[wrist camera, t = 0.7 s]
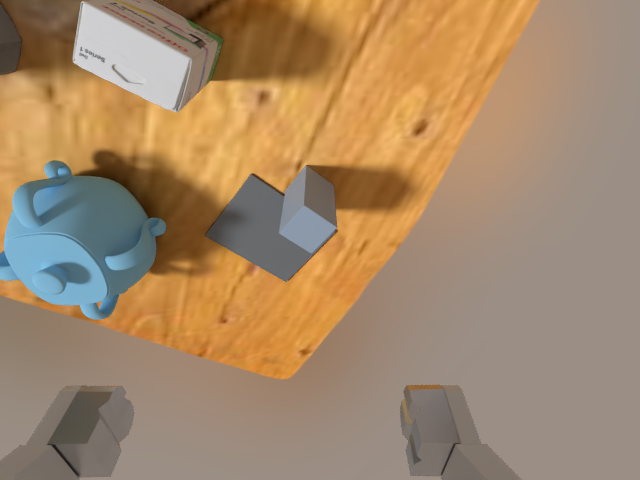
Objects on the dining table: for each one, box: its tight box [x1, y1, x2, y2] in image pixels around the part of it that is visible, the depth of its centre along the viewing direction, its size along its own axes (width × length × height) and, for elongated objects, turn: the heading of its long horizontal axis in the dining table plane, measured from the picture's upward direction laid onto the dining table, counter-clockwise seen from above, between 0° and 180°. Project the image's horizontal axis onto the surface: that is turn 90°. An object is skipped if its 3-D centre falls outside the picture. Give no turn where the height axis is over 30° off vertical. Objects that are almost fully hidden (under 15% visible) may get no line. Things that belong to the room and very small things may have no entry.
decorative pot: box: [0, 161, 166, 320], centre depth 45 cm, size 16×16×14 cm
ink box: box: [73, 0, 223, 112], centre depth 34 cm, size 8×5×12 cm, turn 62°
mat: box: [205, 174, 336, 282], centre depth 52 cm, size 12×14×1 cm
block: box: [279, 165, 337, 254], centre depth 44 cm, size 4×4×10 cm
